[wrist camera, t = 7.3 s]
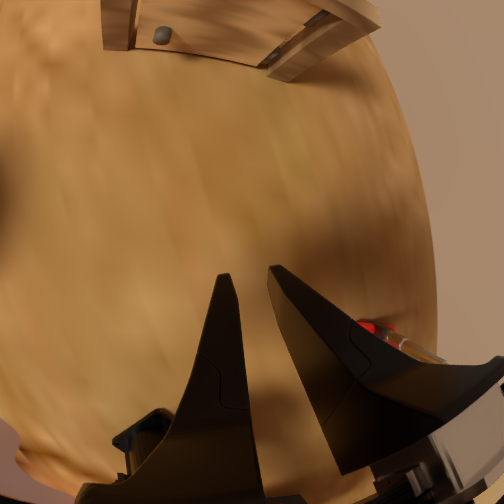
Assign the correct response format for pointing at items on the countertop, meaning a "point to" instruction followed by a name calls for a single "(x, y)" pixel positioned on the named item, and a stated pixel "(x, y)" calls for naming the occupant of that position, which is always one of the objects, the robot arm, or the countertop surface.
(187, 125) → the countertop surface
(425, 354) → the tow hook
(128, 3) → the frame
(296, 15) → the door
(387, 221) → the countertop surface
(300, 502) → the cleaning product box
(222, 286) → the robot arm
